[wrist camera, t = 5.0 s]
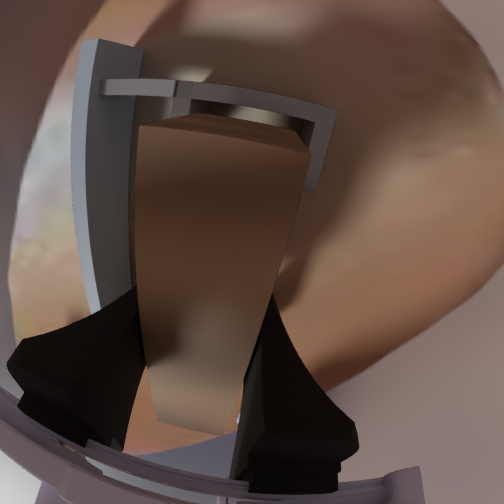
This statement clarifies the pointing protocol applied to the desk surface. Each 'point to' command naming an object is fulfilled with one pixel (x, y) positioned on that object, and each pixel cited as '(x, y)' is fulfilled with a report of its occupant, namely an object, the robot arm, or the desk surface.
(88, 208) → the backboard
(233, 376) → the rail
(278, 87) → the desk surface
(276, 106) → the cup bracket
